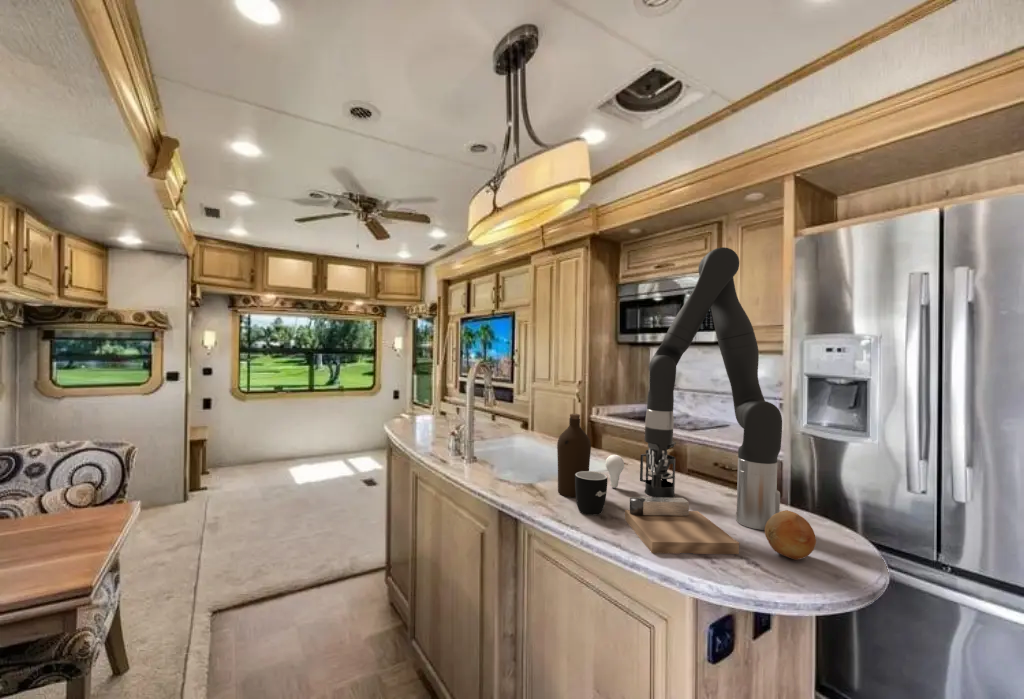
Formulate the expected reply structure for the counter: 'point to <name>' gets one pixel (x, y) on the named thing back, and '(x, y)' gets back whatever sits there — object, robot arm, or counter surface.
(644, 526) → the wooden cutting board
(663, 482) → the french press
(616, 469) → the lightbulb
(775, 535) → the onion
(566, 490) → the olive oil
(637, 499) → the hinged leg
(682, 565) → the counter surface
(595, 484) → the mug
